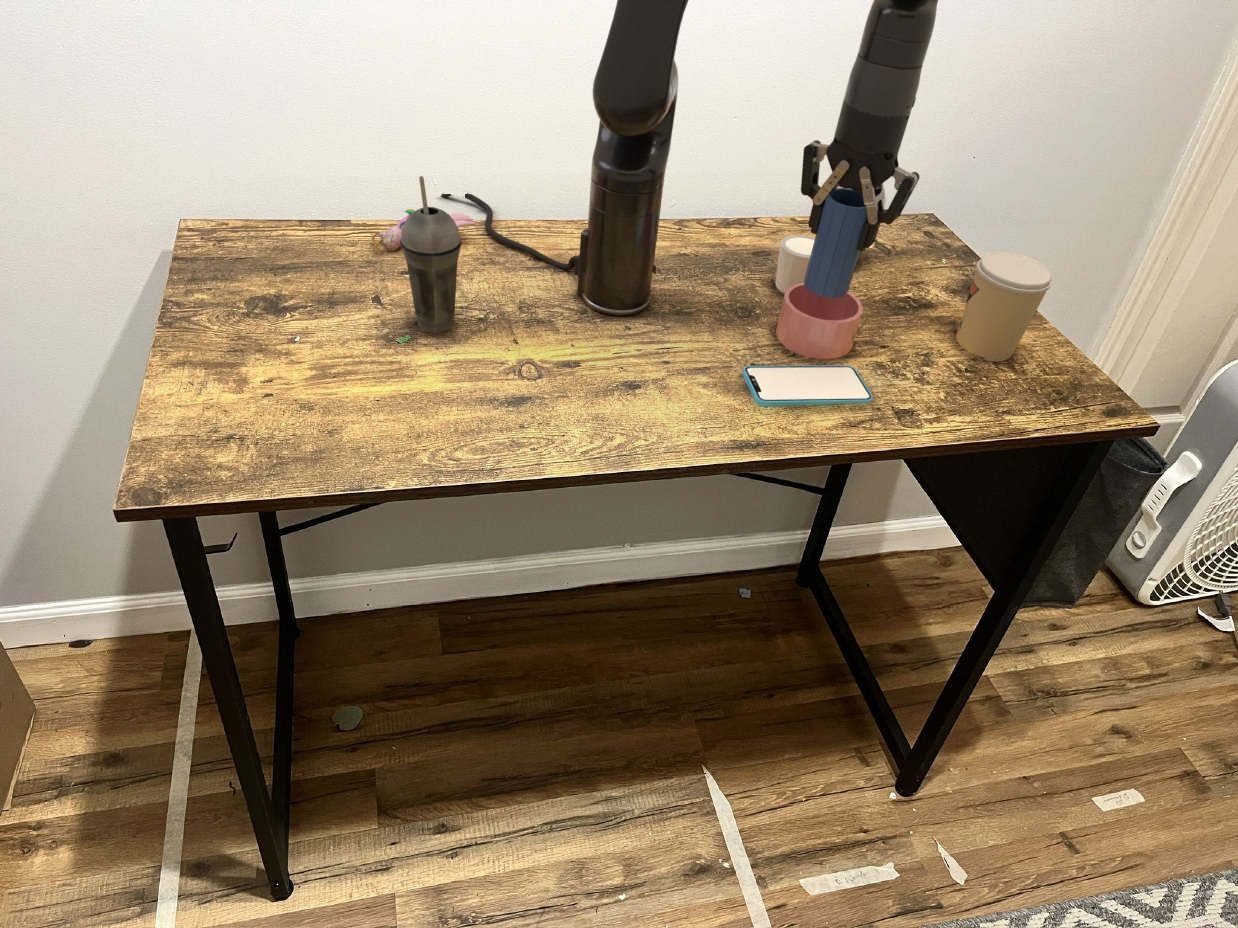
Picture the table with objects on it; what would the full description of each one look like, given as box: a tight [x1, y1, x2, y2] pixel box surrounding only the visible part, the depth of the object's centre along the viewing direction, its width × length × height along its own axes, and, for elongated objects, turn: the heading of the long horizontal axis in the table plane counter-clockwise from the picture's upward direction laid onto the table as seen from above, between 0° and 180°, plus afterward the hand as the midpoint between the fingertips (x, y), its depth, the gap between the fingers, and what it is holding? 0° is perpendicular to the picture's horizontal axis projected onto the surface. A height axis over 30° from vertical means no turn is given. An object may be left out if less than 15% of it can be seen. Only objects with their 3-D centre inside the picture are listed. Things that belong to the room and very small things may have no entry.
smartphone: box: [742, 364, 874, 408], centre depth 110 cm, size 8×1×15 cm
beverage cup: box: [400, 175, 463, 334], centre depth 108 cm, size 7×7×20 cm
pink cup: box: [775, 283, 864, 360], centre depth 117 cm, size 10×10×6 cm
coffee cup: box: [955, 251, 1053, 362], centre depth 118 cm, size 9×9×12 cm
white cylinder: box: [774, 234, 815, 294], centre depth 127 cm, size 7×7×7 cm
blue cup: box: [804, 188, 868, 298], centre depth 110 cm, size 6×6×12 cm
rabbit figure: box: [370, 208, 476, 253], centre depth 129 cm, size 6×6×15 cm
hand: (839, 239), depth 110 cm, fingers closed on blue cup, 5 cm apart
